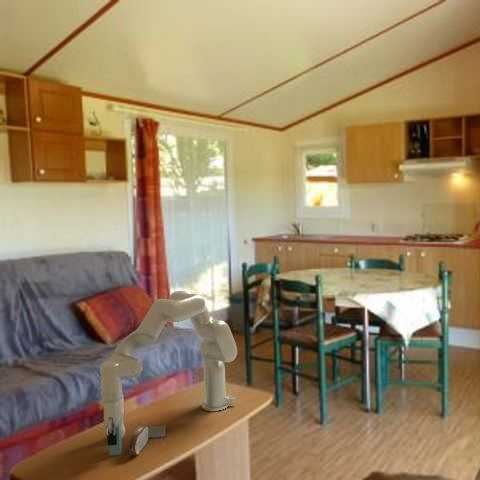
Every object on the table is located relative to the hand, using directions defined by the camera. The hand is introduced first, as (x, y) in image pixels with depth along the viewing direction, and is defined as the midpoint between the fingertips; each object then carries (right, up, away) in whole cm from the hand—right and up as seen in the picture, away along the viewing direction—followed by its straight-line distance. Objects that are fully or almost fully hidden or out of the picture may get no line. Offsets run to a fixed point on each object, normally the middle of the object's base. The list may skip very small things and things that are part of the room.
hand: (114, 438), depth 198 cm
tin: (+9, -5, +2) cm, 11 cm away
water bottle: (-2, -5, +12) cm, 13 cm away
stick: (0, -5, +1) cm, 5 cm away
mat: (+11, -4, +16) cm, 19 cm away
